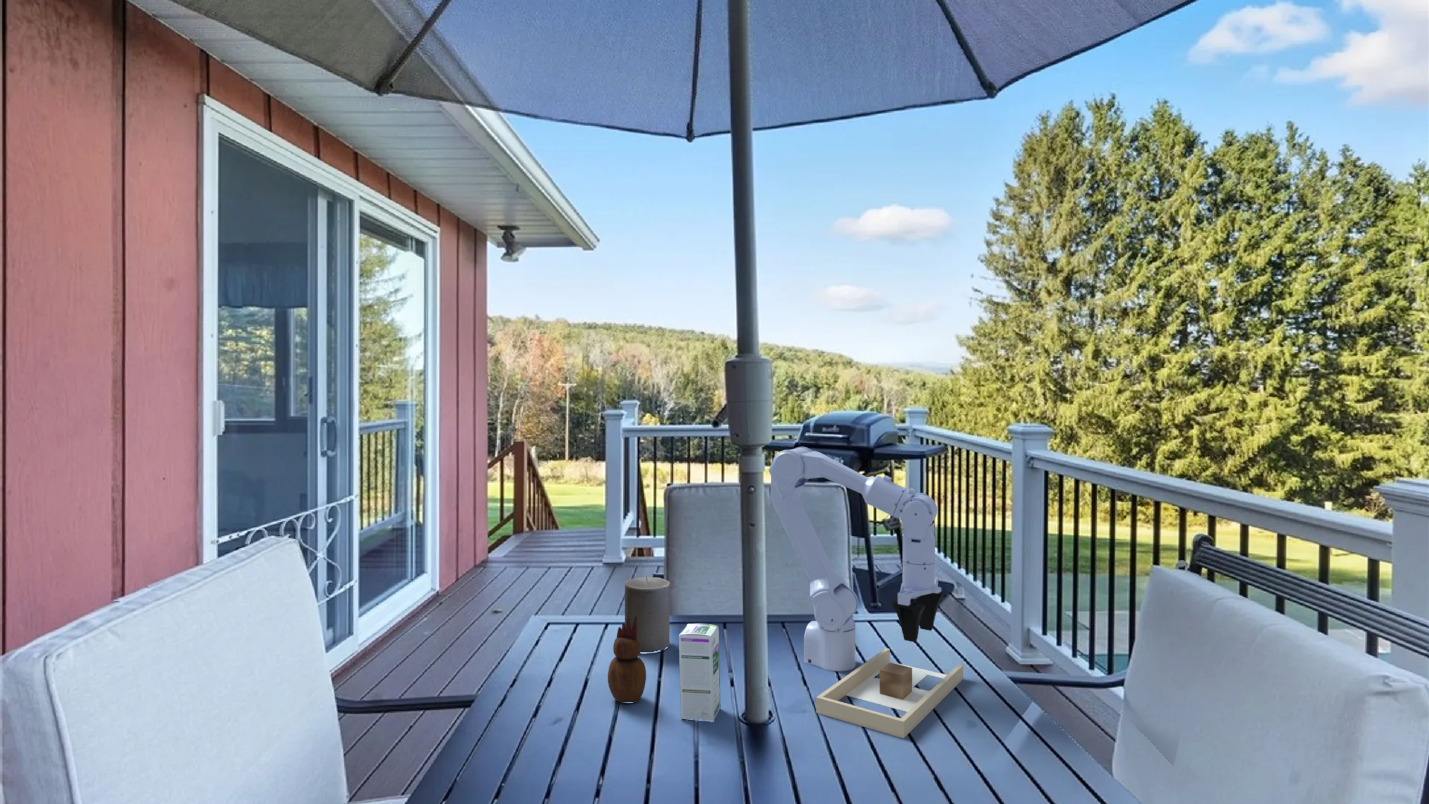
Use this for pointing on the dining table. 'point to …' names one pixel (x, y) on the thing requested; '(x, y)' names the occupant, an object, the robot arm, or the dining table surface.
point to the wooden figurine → (627, 665)
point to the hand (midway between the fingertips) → (918, 635)
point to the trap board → (885, 697)
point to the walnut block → (896, 680)
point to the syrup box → (699, 671)
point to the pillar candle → (649, 611)
